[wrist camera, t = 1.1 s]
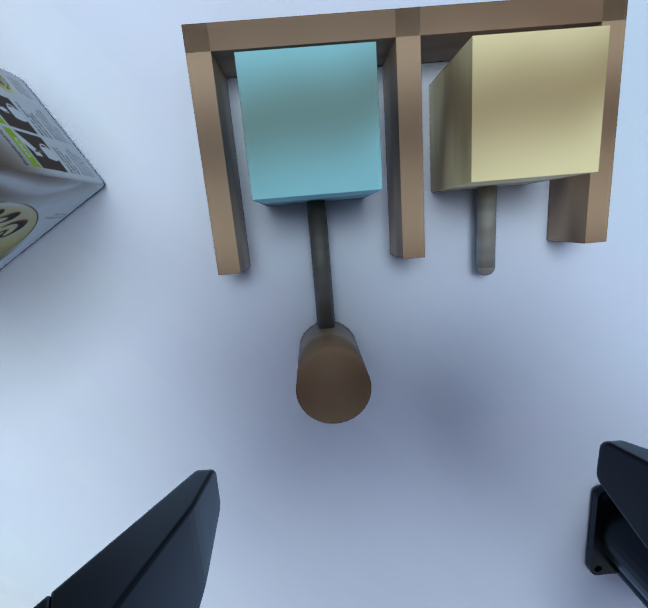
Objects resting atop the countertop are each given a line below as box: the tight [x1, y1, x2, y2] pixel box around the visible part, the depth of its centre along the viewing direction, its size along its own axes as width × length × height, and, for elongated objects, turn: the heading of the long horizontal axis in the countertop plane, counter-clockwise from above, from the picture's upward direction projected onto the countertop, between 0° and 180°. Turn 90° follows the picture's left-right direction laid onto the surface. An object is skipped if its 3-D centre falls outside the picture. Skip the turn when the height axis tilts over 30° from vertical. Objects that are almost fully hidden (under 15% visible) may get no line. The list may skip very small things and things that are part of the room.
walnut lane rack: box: [181, 0, 628, 275], centre depth 17 cm, size 10×18×3 cm, turn 94°
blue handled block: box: [234, 42, 382, 424], centre depth 17 cm, size 15×5×5 cm, turn 4°
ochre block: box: [429, 25, 610, 275], centre depth 17 cm, size 10×5×5 cm, turn 4°
